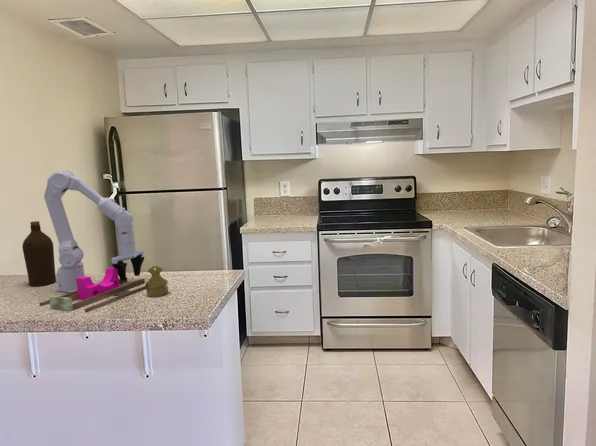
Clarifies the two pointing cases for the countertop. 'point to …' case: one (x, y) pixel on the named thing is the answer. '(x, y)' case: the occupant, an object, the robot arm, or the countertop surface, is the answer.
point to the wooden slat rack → (66, 300)
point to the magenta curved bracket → (90, 289)
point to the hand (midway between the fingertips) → (130, 277)
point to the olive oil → (39, 257)
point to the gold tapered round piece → (156, 283)
